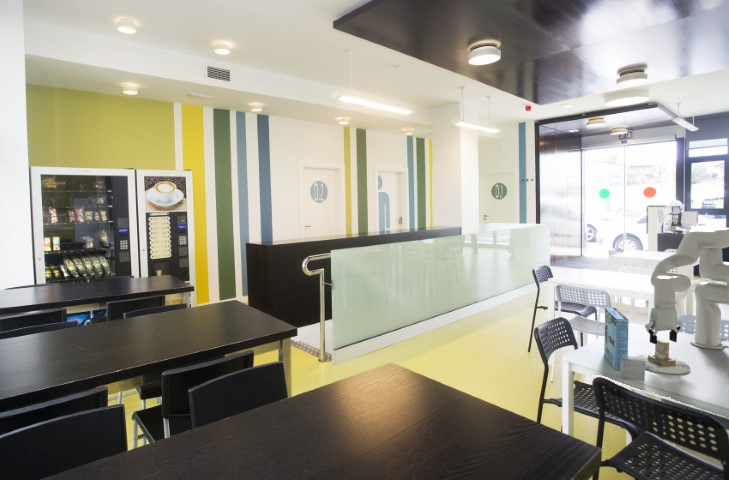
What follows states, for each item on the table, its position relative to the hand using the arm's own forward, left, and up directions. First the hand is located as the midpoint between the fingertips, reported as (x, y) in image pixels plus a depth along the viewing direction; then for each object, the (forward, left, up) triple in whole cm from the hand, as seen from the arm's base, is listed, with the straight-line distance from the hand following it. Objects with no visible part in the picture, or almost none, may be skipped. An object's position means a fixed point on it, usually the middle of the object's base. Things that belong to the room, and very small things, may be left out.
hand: (663, 342), depth 182 cm
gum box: (+18, -7, -11) cm, 22 cm away
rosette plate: (+1, 0, -10) cm, 10 cm away
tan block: (0, 0, -9) cm, 9 cm away
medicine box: (+23, +9, -11) cm, 27 cm away
